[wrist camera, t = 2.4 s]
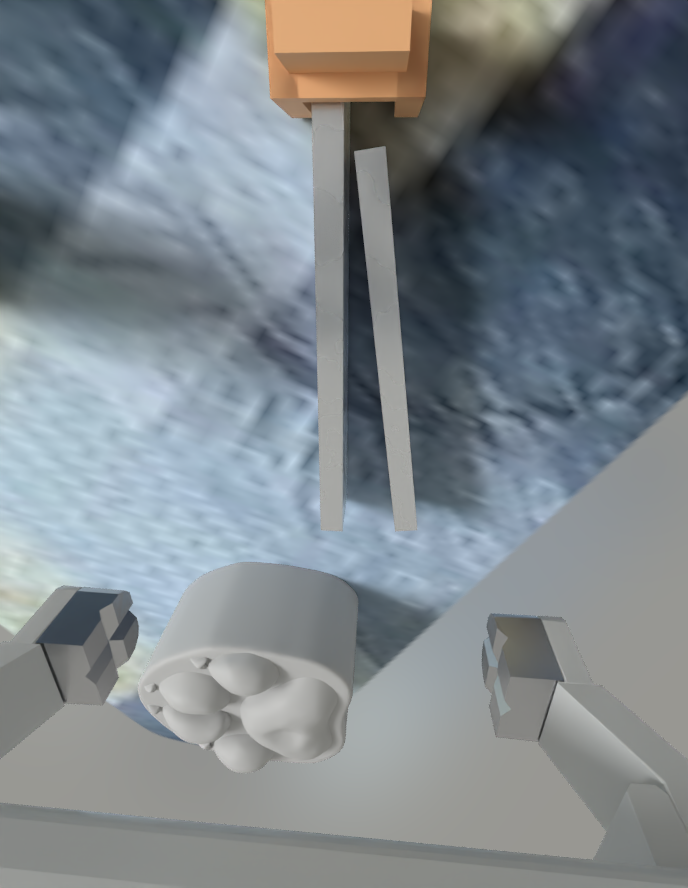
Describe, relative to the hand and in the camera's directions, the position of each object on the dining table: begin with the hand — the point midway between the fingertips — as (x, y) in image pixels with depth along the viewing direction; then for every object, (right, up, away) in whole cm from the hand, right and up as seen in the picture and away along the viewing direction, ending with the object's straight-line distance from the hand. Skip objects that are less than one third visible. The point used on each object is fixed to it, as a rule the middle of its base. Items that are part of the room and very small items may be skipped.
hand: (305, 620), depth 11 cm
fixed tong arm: (0, +11, +13) cm, 18 cm away
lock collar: (+1, +19, +9) cm, 22 cm away
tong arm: (+3, +9, +14) cm, 17 cm away
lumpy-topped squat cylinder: (-5, -9, +24) cm, 26 cm away
